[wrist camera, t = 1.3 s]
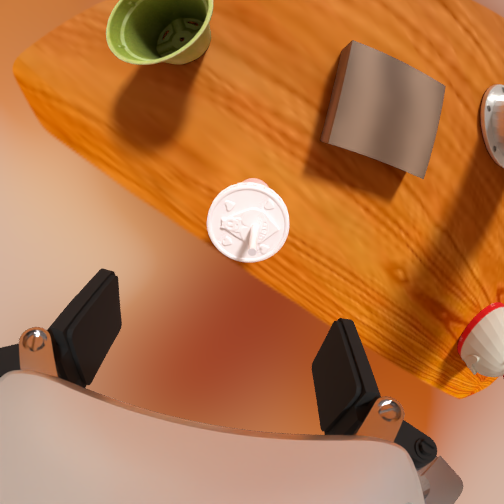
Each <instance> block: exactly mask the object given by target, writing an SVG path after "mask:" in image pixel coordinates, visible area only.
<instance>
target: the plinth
mask: <svg viewBox="0 0 504 504" xmlns="http://www.w3.org/2000/svg"><path fill="white" fill-rule="evenodd" d="M444 93H445V86H444V85H443V84H441V83H439V82H438V81H436V80H434V79H433V78H431V77H429V76H428V75H426V74H424V73H422V72H421V71H419V70H417V69H415V68H413V67H411V66H409V65H408V64H406V63H404V62H402V61H400V60H398V59H396V58H393V57H391V56H389V55H387V54H385V53H383V52H380V51H378V50H376V49H373V48H371V47H369V46H366V45H364V44H361V43H358V42H356V41H353V40H352V41H351V42H350V43H349V44H348V45H347V46H346V47H345V48H344V49H343V50H342V52H341V56H340V61H339V65H338V70H337V74H336V78H335V83H334V87H333V91H332V95H331V99H330V104H329V108H328V112H327V116H326V120H325V124H324V128H323V132H322V135H321V139H320V141H322V142H325V143H328V144H332V145H335V146H338V147H341V148H344V149H347V150H350V151H353V152H356V153H359V154H362V155H365V156H367V157H370V158H373V159H376V160H378V161H381V162H383V163H386V164H389V165H391V166H394V167H396V168H399V169H401V170H403V171H406V172H408V173H411V174H413V175H415V176H417V177H420V178H422V179H424V176H425V173H426V170H427V166H428V163H429V159H430V156H431V152H432V148H433V145H434V141H435V137H436V132H437V128H438V124H439V119H440V114H441V109H442V104H443V99H444Z"/></svg>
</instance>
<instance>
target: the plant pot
mask: <svg viewBox="0 0 504 504" xmlns="http://www.w3.org/2000/svg"><path fill="white" fill-rule="evenodd" d="M212 13H213V0H120V1H119V2H118V3H117V4H116V6H115V7H114V9H113V11H112V13H111V15H110V17H109V19H108V23H107V29H106V39H107V43H108V46H109V48H110V50H111V51H112V52H113V54H114V55H115V56H116V57H118V58H119V59H120V60H122V61H125V62H127V63H131V64H136V65H150V64H156V63H160V62H165V63H170V64H185V63H188V62H191V61H193V60H196V59H197V58H199V57H200V56H201V55H202V54H203V53H204V52H205V51H206V50H207V48H208V46H209V44H210V41H211V31H210V26H209V22H210V20H211V16H212ZM189 21H192V22H196V23H198V26H196V25H193V24H190V23H188V22H189ZM168 30H169V33H168V34H167V35H166V37H165V38H164V40H163V39H162V38H163V35H164V33H165V32H166V31H168ZM180 38H184V41H180Z"/></svg>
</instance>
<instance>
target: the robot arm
mask: <svg viewBox="0 0 504 504" xmlns="http://www.w3.org/2000/svg"><path fill="white" fill-rule="evenodd" d="M481 127H482V133H483V137H484V141H485V144H486V147H487V150H488V152H489V154H490V156H491V157H492V158H493V160H494V161H495V162H496V163H497V164H498V165H499V166H500V167H502V168H504V85H501V84H498V85H493V86H491V87H489V88H488V89H487V91H486V92H485V94H484V97H483V100H482V105H481ZM121 323H122V322H121V312H120V300H119V286H118V277H117V276H115V273H114V272H113V271H109V270H106V269H101V270H99V272H98V273H97V274H96V275H95V276H94V277H93V278H92V279H91V280H90V281H89V282H88V283H87V285H86V286H85V287H84V288H83V289H82V290H81V291H80V293H79V294H78V295H76V296H75V298H74V299H73V300H72V301H71V302H70V303H69V305H68V306H67V307H66V308H65V309H64V310H63V312H62V313H61V314H60V315H59V316H58V318H57V319H56V320H55V321H54V323H53V324H52V325H51V326H50V327H49V329H48V330H45V329H44V328H40V327H32V328H29V329H27V330H26V331H25V332H23V333H22V335H21V337H20V339H19V344H15V345H11V346H7V347H2V348H0V504H454V503H455V501H456V500H457V499H458V497H459V496H460V494H461V492H462V490H463V482H462V480H461V478H460V477H459V476H458V475H457V474H456V473H455V472H454V470H453V469H452V468H451V467H450V466H449V465H448V464H447V463H446V461H445V460H444V459H443V458H442V457H441V456H439V457H437V456H436V455H437V447H436V444H435V443H434V441H433V440H432V439H431V438H430V437H428V436H427V435H425V434H424V433H422V432H420V431H419V430H418V429H416V428H415V427H413V426H412V425H410V424H409V423H407V422H406V421H404V420H403V419H404V409H403V407H402V406H401V404H400V403H399V402H398V401H397V400H395V399H393V398H391V397H386V396H385V397H381V396H380V393H379V390H378V387H377V384H376V381H375V378H374V375H373V373H372V370H371V367H370V364H369V361H368V359H367V356H366V354H365V351H364V348H363V345H362V343H361V340H360V338H359V335H358V332H357V330H356V327H355V325H354V322H353V321H352V320H350V319H342V318H339V319H338V321H334V322H333V324H332V326H331V328H330V330H329V333H328V334H327V336H326V338H325V340H324V342H323V344H322V346H321V348H320V350H319V351H318V353H317V356H316V357H315V359H314V361H313V363H312V373H313V380H314V386H315V392H316V399H317V405H318V412H319V418H320V426H321V430H322V431H324V432H325V435H305V434H284V433H270V432H260V431H251V430H243V429H235V428H228V427H222V426H216V425H211V424H205V423H200V422H195V421H190V420H186V419H181V418H177V417H173V416H169V415H165V414H161V413H158V412H154V411H150V410H147V409H143V408H140V407H136V406H134V405H130V404H127V403H124V402H121V401H119V400H116V399H113V398H110V397H107V396H105V395H102V394H99V393H96V392H94V391H91V390H88V389H86V388H85V387H86V385H90V384H91V382H92V381H93V379H94V377H95V375H96V373H97V371H98V369H99V367H100V365H101V364H102V362H103V360H104V358H105V356H106V354H107V353H108V351H109V349H110V347H111V345H112V344H113V342H114V340H115V338H116V337H117V335H118V333H119V331H120V329H121V325H122V324H121Z"/></svg>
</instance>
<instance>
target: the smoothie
mask: <svg viewBox="0 0 504 504" xmlns="http://www.w3.org/2000/svg"><path fill="white" fill-rule="evenodd" d="M207 230H208V234H209V237H210V239H211V241H212V243H213V244H214V246H215V247H216V248H217V249H218V250H219V251H220V252H221V253H222V254H224V255H225V256H227V257H229V258H231V259H233V260H236V261H240V262H258V261H262V260H265V259H267V258H269V257H271V256H272V255H274V254H275V253H276V252H277V251H278V250H279V249H280V248H281V247H282V246H283V244H284V243H285V241H286V238H287V236H288V232H289V215H288V211H287V208H286V205H285V204H284V202H283V200H282V199H281V197H280V196H279V195H278V194H277V193H275V192H274V191H273V190H272V189H270V188H269V187H268V186H267V184H266V183H265V182H263V181H262V180H260V179H256V178H250V179H247V180H245V181H243V182H241V183H238V184H234V185H231V186H229V187H227V188H226V189H224V190H223V191H221V192H220V193H219V194H218V196H217V197H216V198H215V199H214V201H213V203H212V205H211V207H210V209H209V212H208V217H207Z"/></svg>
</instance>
